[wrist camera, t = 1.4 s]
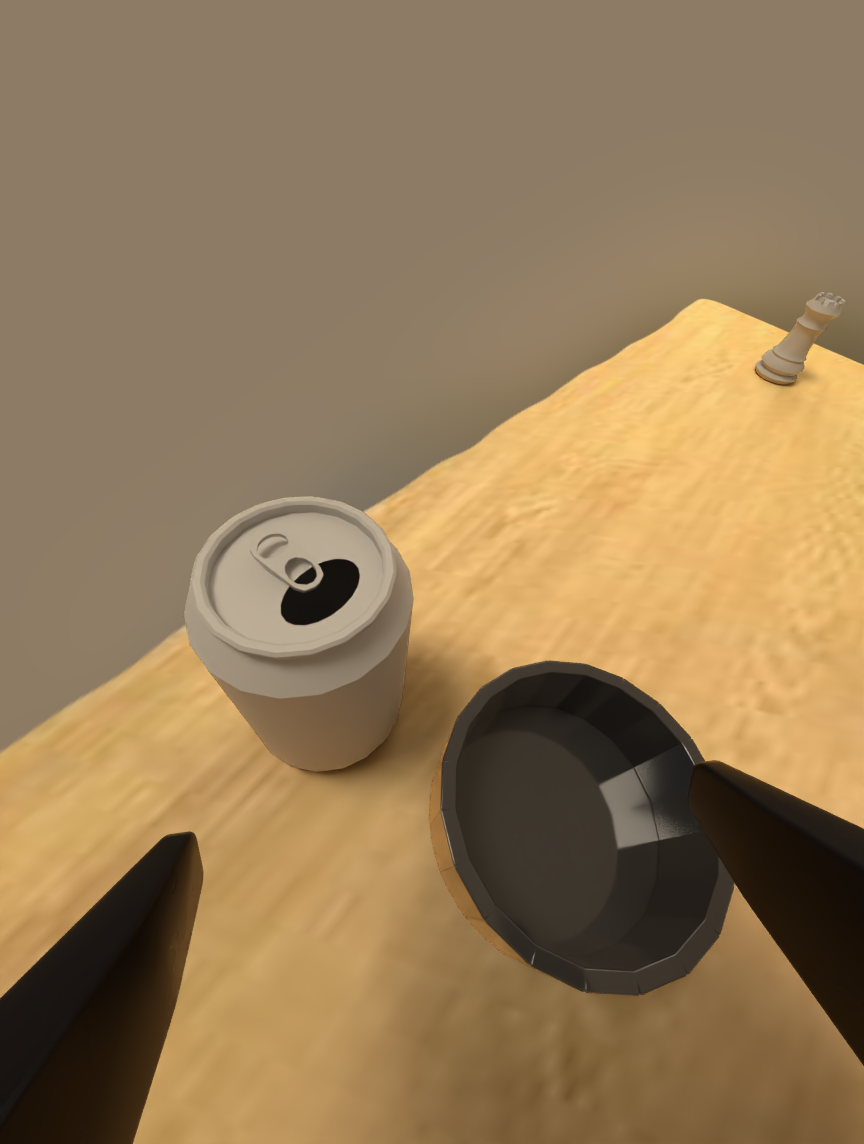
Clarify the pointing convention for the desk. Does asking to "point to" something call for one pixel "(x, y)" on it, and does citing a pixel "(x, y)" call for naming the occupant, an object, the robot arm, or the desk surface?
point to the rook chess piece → (798, 341)
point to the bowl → (577, 830)
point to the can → (305, 627)
